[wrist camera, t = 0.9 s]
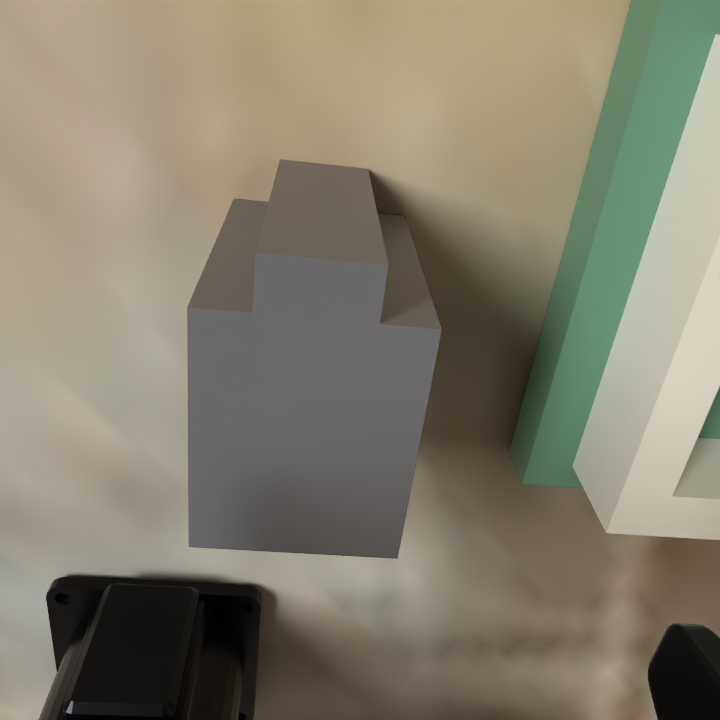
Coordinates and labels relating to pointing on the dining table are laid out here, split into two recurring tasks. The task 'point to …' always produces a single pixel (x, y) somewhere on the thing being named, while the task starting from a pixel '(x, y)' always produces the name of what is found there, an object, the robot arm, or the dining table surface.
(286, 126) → the dining table surface
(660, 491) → the board
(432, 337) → the plug
